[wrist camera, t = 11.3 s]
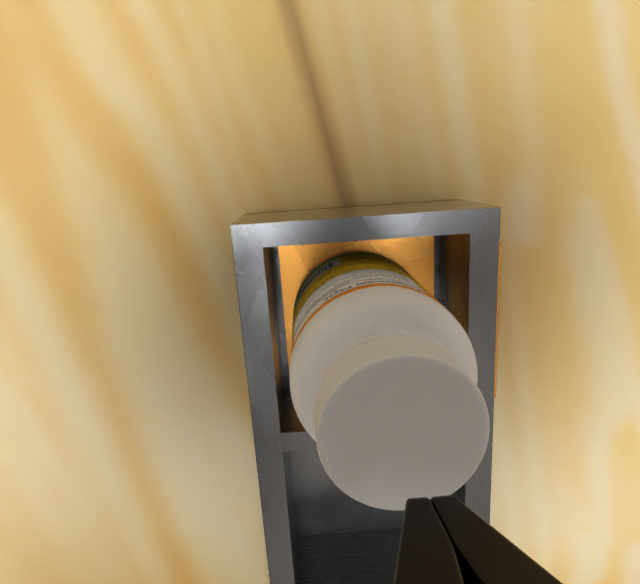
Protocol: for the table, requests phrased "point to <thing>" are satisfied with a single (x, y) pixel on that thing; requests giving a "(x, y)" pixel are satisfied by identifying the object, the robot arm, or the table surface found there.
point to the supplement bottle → (385, 383)
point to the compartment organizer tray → (274, 364)
